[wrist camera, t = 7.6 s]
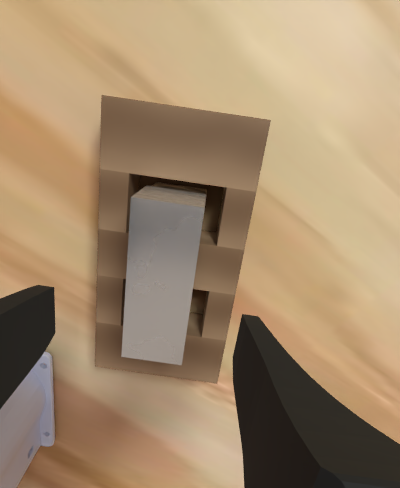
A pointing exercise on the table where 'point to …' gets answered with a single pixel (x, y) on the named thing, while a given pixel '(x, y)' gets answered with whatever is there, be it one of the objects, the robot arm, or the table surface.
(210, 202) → the table surface
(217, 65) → the table surface
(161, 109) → the walnut mortise block
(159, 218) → the grey arch block
